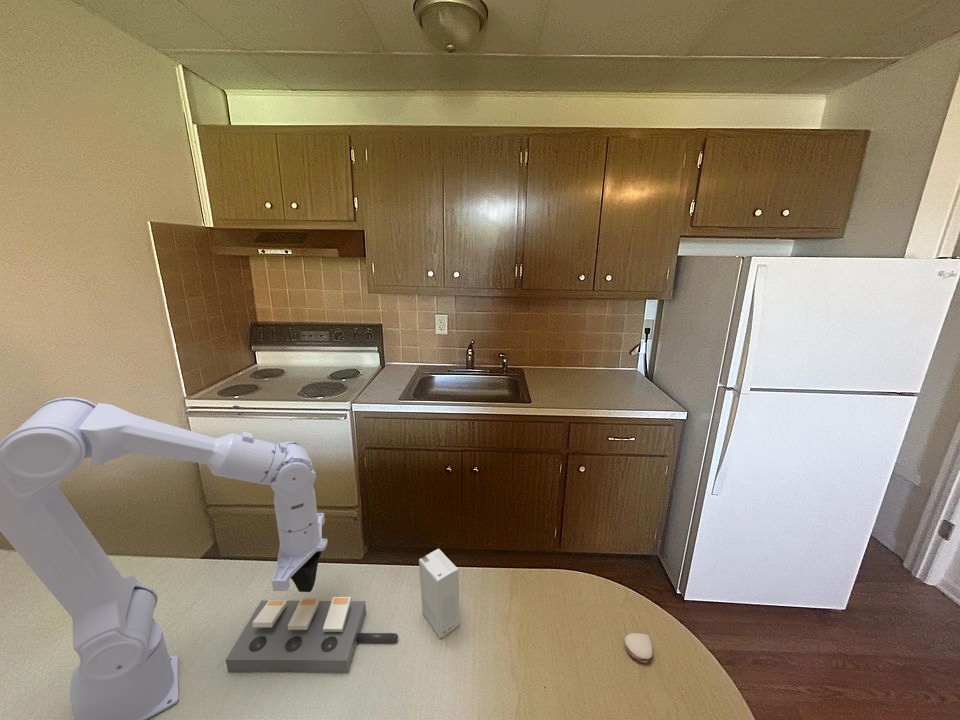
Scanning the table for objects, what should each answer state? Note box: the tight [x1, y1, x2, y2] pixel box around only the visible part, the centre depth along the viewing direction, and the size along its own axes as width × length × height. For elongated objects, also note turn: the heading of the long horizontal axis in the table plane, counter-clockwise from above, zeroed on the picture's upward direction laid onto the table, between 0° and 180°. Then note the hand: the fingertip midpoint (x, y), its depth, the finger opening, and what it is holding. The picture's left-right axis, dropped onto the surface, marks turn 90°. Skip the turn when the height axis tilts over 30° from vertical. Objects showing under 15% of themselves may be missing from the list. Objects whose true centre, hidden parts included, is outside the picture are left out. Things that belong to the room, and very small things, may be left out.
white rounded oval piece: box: [623, 632, 654, 663], centre depth 62 cm, size 4×5×2 cm
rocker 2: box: [323, 596, 352, 632], centre depth 63 cm, size 3×5×1 cm, turn 1°
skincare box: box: [418, 548, 461, 639], centre depth 65 cm, size 6×4×12 cm
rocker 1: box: [288, 597, 320, 630], centre depth 63 cm, size 3×5×1 cm, turn 1°
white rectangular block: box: [252, 599, 288, 627], centre depth 63 cm, size 3×5×1 cm, turn 1°
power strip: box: [225, 599, 399, 674], centre depth 63 cm, size 25×10×3 cm, turn 91°
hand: (306, 588), depth 64 cm, fingers closed
